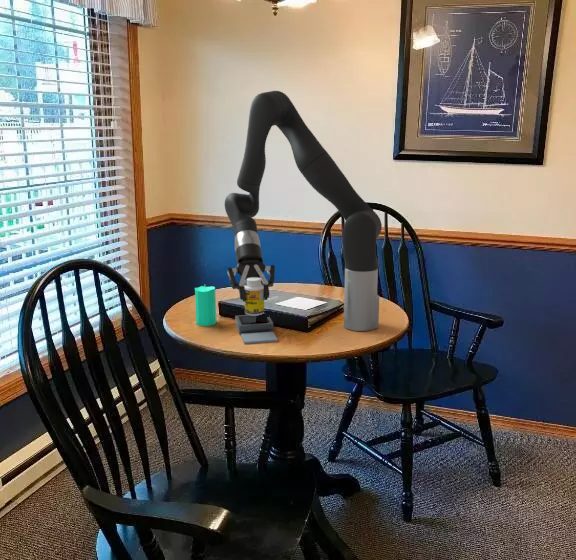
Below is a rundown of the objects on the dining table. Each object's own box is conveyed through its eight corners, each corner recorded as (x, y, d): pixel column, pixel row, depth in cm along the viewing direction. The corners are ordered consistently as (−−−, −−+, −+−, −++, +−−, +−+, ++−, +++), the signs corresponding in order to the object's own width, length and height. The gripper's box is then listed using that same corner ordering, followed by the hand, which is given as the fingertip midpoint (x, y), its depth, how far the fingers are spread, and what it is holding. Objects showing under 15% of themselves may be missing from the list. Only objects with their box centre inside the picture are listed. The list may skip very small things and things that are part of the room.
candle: (220, 321, 175) (219, 282, 172) (206, 327, 170) (205, 286, 167) (205, 318, 178) (204, 279, 175) (191, 323, 174) (189, 283, 171)
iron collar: (267, 321, 175) (267, 313, 174) (273, 332, 166) (273, 323, 165) (235, 323, 173) (235, 315, 172) (239, 334, 164) (239, 325, 163)
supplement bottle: (241, 314, 167) (239, 279, 165) (251, 309, 172) (250, 275, 170) (257, 317, 165) (256, 282, 162) (268, 312, 169) (267, 277, 167)
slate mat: (273, 333, 165) (273, 331, 164) (277, 341, 158) (277, 339, 158) (241, 335, 163) (241, 333, 163) (244, 344, 157) (244, 341, 156)
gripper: (224, 243, 169) (230, 294, 161) (273, 240, 172) (282, 290, 164) (223, 257, 176) (229, 307, 167) (271, 255, 179) (279, 304, 170)
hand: (255, 299), depth 166 cm, fingers closed on supplement bottle, 5 cm apart
